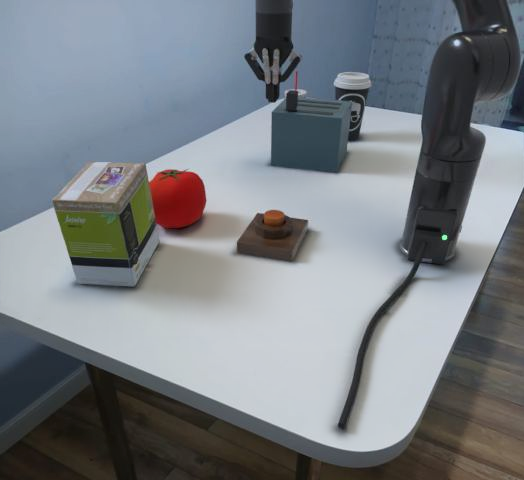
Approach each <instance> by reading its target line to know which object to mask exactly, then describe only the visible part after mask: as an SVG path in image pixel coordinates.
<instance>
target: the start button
mask: <svg viewBox="0 0 524 480" xmlns="http://www.w3.org/2000/svg"><path fill="white" fill-rule="evenodd" d="M263 214H264V224H265V225H267V226H271V227H278V226H282V225H284V215H285V213H284V212H283V211H282V210H279V209H270V210H266V211H265V212H264V213H263Z"/></svg>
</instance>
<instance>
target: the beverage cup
mask: <svg viewBox="0 0 524 480" xmlns="http://www.w3.org/2000/svg"><path fill="white" fill-rule="evenodd" d="M298 72H299V71H298V70H295V78H294V79H295V80H294V81H295V82H294V88H291V89H286V90H285V91H284V96H285V97H286V93H287V92H288V91H289V90H293V91H298V97H303V98H307V94H308V91H307V90H305V89H299V88H298V74H299V73H298Z"/></svg>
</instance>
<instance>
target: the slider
mask: <svg viewBox="0 0 524 480" xmlns="http://www.w3.org/2000/svg"><path fill="white" fill-rule="evenodd" d="M288 90H289V91H288V92H287V93H286V96H285V98H286V110H290V111H295V110H296V108H297V103H298V91H293V90H290V89H288Z"/></svg>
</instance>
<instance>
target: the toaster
mask: <svg viewBox="0 0 524 480" xmlns="http://www.w3.org/2000/svg"><path fill="white" fill-rule="evenodd" d="M351 108H352V102H351V101H339V100H335V99H326V98H313V97H305V98H303V97H298V103H297V108H296V110H295V111H290V110H286V97H285V98H284V99H283V100H282V101H281V102H280V103H279V104H278V105H277V106H276V107H275V108H274V109H272V111H271V127H270V129H271V130H270V131H271V132H270V133H271V134H270V137H271V138H270V146H271V147H270V166H274V167H282V168H283V167H284V168H292V169H300V170H308V171H309V170H310V171H319V172H326V173H327V172H328V173H336V174H337V173H338V170H339V168H340V167H341V165H342V162H343V161H344V158H345V156H346V155H347V153H348V143H349V141H348V135H349V126H350V117H351Z"/></svg>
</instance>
